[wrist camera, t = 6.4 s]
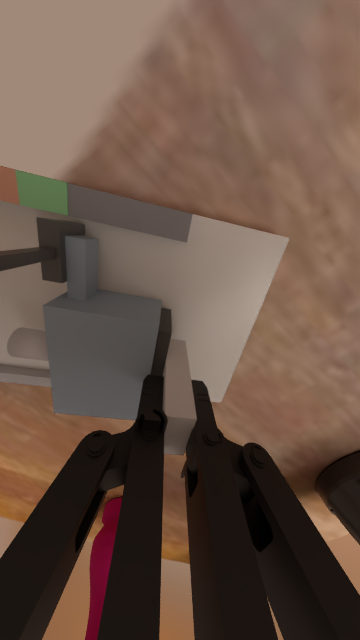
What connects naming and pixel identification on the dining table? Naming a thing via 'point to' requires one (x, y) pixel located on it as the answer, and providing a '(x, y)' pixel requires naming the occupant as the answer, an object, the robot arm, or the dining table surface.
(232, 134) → the dining table surface
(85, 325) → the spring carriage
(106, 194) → the bench
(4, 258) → the max pointer
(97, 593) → the pepper mill
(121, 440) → the robot arm
